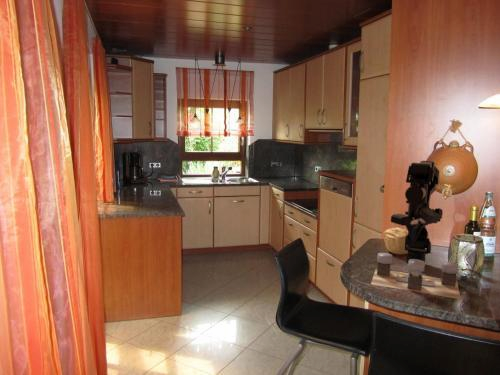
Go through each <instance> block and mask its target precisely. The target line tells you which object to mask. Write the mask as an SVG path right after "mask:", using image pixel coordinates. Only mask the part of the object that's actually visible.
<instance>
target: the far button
mask: <svg viewBox="0 0 500 375" xmlns="http://www.w3.org/2000/svg"><path fill="white" fill-rule="evenodd" d="M425 267H426V261H425V262H424V261H421V260H417V259H410V260H409V262H408V263H407V269H408V270H409V271H411V273H412V276H411V277H416V278H419V275H420V274H421V273H422V272H425Z"/></svg>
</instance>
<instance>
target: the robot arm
mask: <svg viewBox="0 0 500 375" xmlns="http://www.w3.org/2000/svg"><path fill="white" fill-rule="evenodd" d="M406 174H407V175H406V180H405V183H409V184H410V186H408V188H407V189H406V191H405V192H404V196H405V199H406V201H405V202H406V204H408V207H407V208H408V209H407V211H405V213H404V214H402V213H394V214H392V215H391V216H390V223H392V224H395V225H399V226H405V228H406V230H407V231H408V235H406V238H405V251H406V250H407V251H408V253H407V254H406V264H408V262H409V260H410V259H417V260H421V261H424V262H425V263H426V257H427V255H428V254H431V252H432V242H431V240H430V238H429V232H428V230H427V228H426V227H427V226H428V225H432V224H437V223H439V222H441V221H442V220H441V219H443V209H442V208H440V207H439V208H430V204H431V203H430V202H431V198H432V194H434V193H435V192H436V191H437V186H438V185H439V184H440V170H439V169H438V168H437V167H436V163H435V161H433V160H420V162H412V163H411V164H410V165H409V166H408V169H407V173H406Z"/></svg>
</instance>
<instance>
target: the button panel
mask: <svg viewBox="0 0 500 375" xmlns="http://www.w3.org/2000/svg"><path fill="white" fill-rule="evenodd" d="M391 268H392V263H391V264H388V265H386V264H381V263H379V262H377V267H376V268H375V270H374V274H373V277H372V279H371V283H370V285H373V286H378V287H379V286H380V287H384V288H385V287H386V288H391V289H398V290H403V291H410V292H416V293H422V294H427V295H434V296H440V297H444V298H445V297H446V298H452V299H457V300H461V298H462V297H461V294H460V290H459V285H458V280H457V275H458V274H447V273H445V272H443V271H441V275H440V276H441V278H439V277H434V276H429V275H428V276H427V275H423V274H421V273H420V275H419V278H416V277H411V276H412V272H408V273H407V272H401V271H395V270H391ZM397 274H398V275H405V276H408V283H404V282H398V281H396V276H397ZM422 278H424V279H430V280H434V287H429V286H423V285H422Z"/></svg>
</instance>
